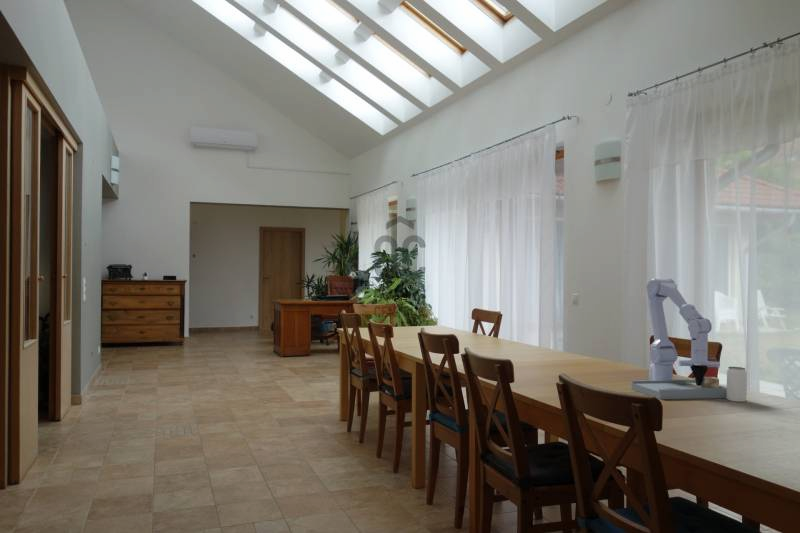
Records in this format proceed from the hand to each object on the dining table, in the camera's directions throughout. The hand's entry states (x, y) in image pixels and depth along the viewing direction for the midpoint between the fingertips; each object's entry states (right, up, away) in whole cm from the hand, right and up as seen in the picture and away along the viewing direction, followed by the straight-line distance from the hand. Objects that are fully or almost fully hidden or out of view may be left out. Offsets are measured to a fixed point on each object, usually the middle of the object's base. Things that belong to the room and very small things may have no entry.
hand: (698, 385), depth 239 cm
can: (+9, -4, -10) cm, 14 cm away
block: (+4, -1, -1) cm, 4 cm away
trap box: (-7, -3, +1) cm, 8 cm away
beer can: (+12, -4, +17) cm, 21 cm away
